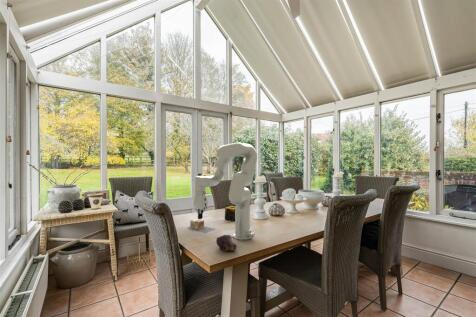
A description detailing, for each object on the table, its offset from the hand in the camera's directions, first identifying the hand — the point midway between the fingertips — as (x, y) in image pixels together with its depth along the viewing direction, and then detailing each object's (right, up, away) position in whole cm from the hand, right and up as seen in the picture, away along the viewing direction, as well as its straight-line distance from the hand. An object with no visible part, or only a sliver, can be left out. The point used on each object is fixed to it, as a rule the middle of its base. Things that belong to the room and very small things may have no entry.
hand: (200, 218), depth 160 cm
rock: (+20, -7, -37) cm, 43 cm away
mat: (+1, -7, -1) cm, 7 cm away
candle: (+23, -8, +25) cm, 35 cm away
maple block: (+1, -4, -1) cm, 4 cm away
